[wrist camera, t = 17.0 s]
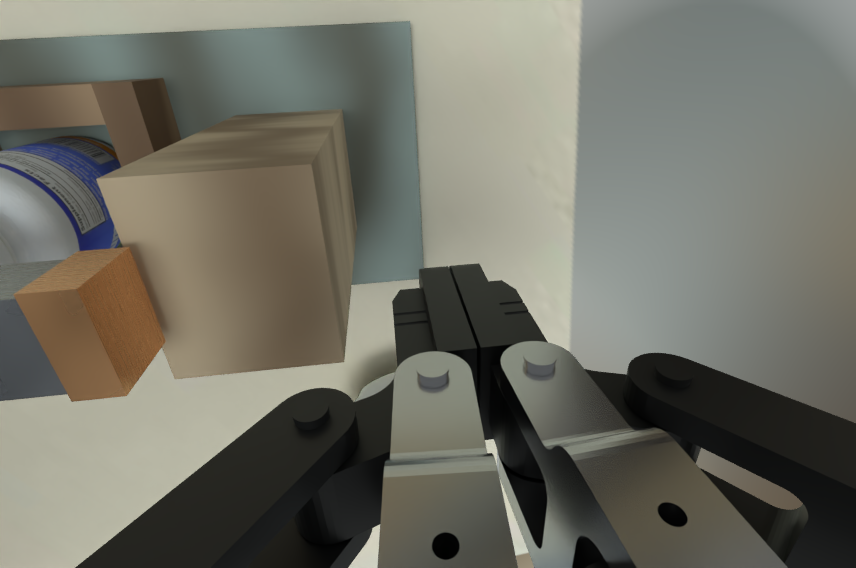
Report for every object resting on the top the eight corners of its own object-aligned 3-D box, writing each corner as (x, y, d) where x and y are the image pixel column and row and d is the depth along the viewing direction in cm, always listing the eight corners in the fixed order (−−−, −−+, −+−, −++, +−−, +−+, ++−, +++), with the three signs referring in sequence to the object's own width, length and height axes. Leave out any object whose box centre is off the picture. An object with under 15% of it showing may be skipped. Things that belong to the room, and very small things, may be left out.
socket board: (37, 304, 25) (-240, 513, 14) (-98, 45, 19) (-786, 36, 8) (422, 270, 27) (458, 432, 16) (408, 22, 21) (450, -13, 9)
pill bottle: (95, 259, 24) (-66, 377, 15) (2, 169, 21) (-254, 250, 12) (177, 208, 23) (58, 302, 14) (91, 109, 20) (-116, 151, 12)
